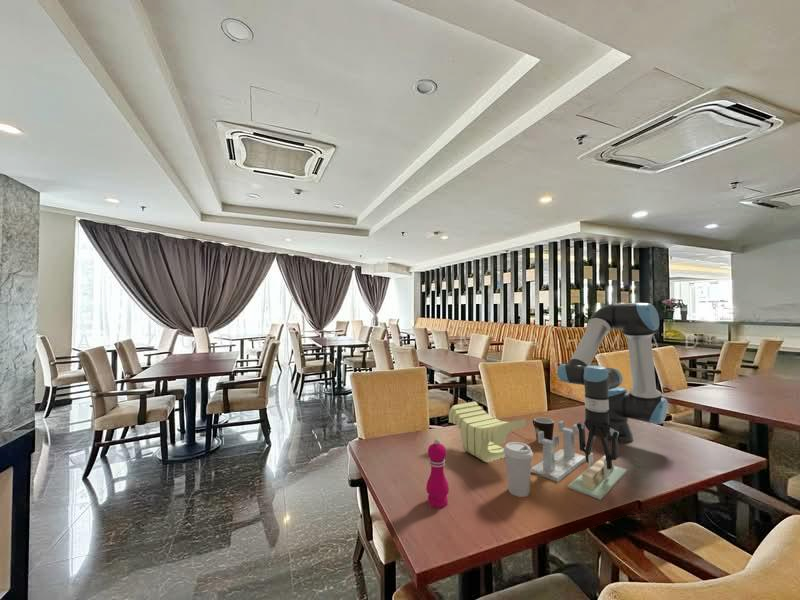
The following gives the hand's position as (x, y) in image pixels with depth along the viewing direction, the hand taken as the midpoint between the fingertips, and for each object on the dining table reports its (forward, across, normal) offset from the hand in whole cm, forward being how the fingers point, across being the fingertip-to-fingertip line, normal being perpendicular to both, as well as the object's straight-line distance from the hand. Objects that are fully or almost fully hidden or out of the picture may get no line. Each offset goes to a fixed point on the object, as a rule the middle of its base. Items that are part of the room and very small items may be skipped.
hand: (598, 474), depth 120 cm
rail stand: (+2, -14, 0) cm, 14 cm away
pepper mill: (+2, -29, -54) cm, 61 cm away
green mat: (+2, 0, 0) cm, 2 cm away
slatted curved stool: (+2, -40, -12) cm, 42 cm away
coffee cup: (+2, -15, -29) cm, 33 cm away
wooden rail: (+1, 0, 0) cm, 1 cm away
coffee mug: (+2, -30, +20) cm, 36 cm away
